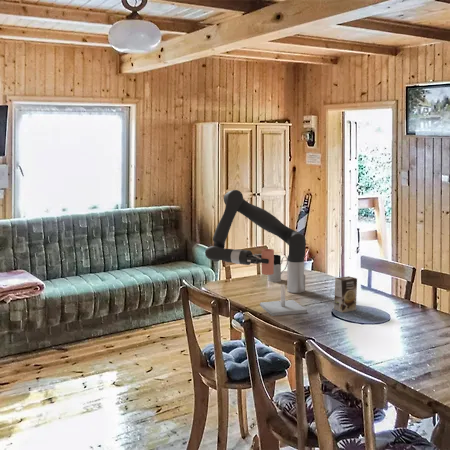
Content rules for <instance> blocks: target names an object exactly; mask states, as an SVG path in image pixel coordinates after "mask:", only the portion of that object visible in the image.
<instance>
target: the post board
mask: <svg viewBox="0 0 450 450" xmlns="http://www.w3.org/2000/svg"><path fill="white" fill-rule="evenodd" d="M259 307H261V308H262V309H263V310H265V312H266V313H268V314H269V315H270V316H272V317H274V316H283V315H285V316H286V315H287V316H288V315H294V314H296V315H297V314H305V313H308V309H307V308H305V307H304V306H302V305H301V304H300V303H298V302H297V301H295V300H294V299H289V300H287V299H286V284H284V283H283V284H281V285H280V300H274V301H265V302H264V301H262V302H259Z"/></svg>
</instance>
